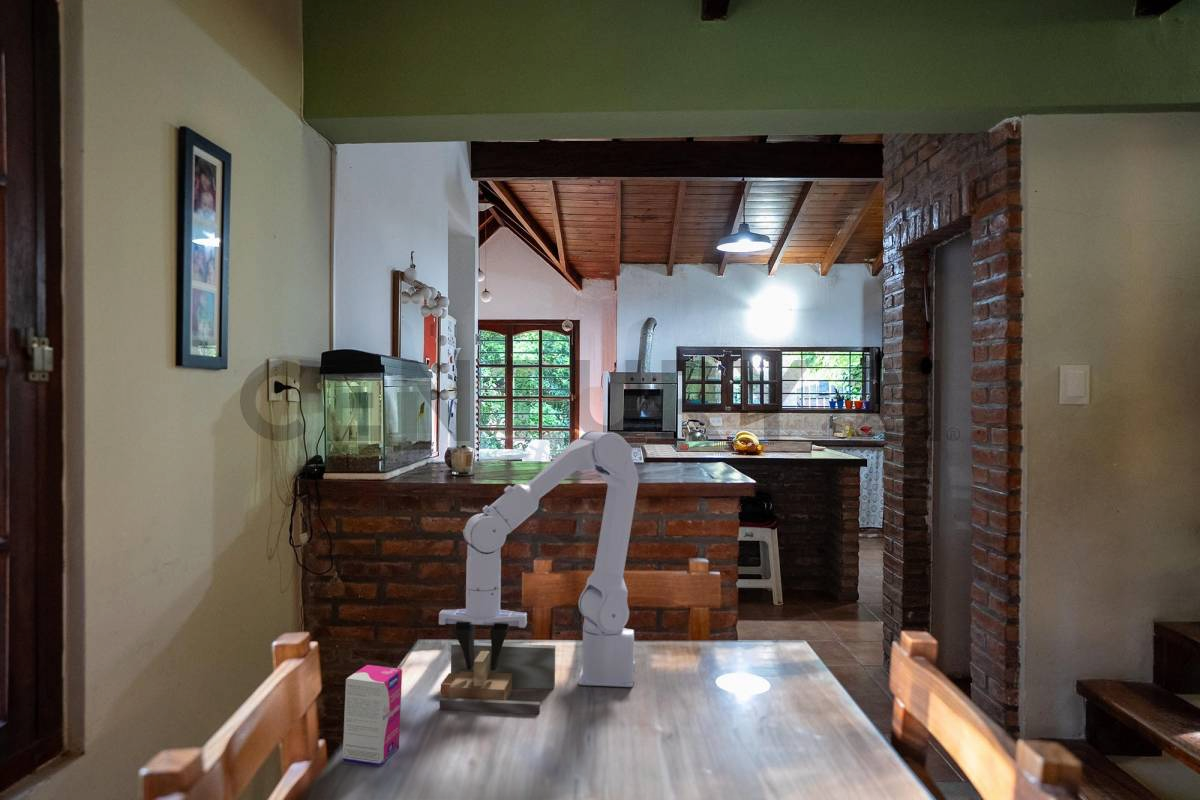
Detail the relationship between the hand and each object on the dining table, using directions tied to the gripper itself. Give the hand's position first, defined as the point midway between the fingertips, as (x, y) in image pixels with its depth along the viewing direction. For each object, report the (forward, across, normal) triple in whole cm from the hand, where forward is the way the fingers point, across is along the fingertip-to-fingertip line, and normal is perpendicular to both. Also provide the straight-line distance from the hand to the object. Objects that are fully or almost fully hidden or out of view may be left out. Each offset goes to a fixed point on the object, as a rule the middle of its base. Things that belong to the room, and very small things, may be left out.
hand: (482, 667), depth 121 cm
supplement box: (+5, -10, -21) cm, 24 cm away
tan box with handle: (+5, 0, 0) cm, 5 cm away
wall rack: (+5, +2, 0) cm, 5 cm away
